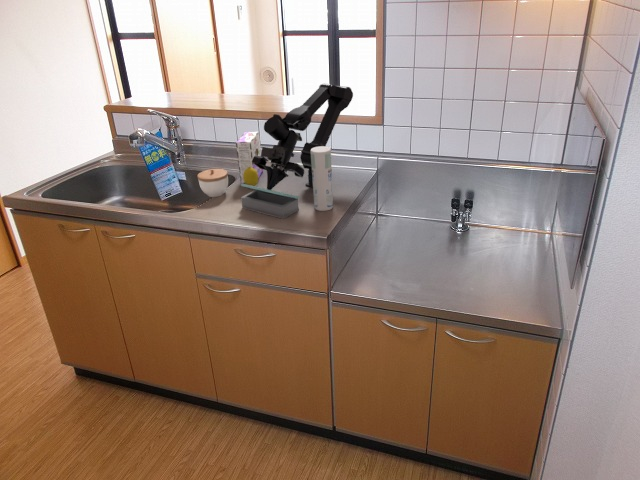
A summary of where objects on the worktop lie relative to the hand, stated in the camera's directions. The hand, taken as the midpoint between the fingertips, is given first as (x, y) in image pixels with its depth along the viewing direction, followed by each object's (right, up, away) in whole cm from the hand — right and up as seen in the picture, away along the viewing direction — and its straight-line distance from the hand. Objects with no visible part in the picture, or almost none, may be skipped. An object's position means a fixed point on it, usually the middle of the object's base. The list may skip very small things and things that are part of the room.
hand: (268, 189), depth 170 cm
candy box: (-9, +8, +32) cm, 34 cm away
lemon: (-8, +3, +22) cm, 23 cm away
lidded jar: (-21, 0, +18) cm, 28 cm away
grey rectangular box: (0, -6, +3) cm, 7 cm away
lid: (0, -1, +1) cm, 1 cm away
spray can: (+18, -6, +2) cm, 19 cm away
